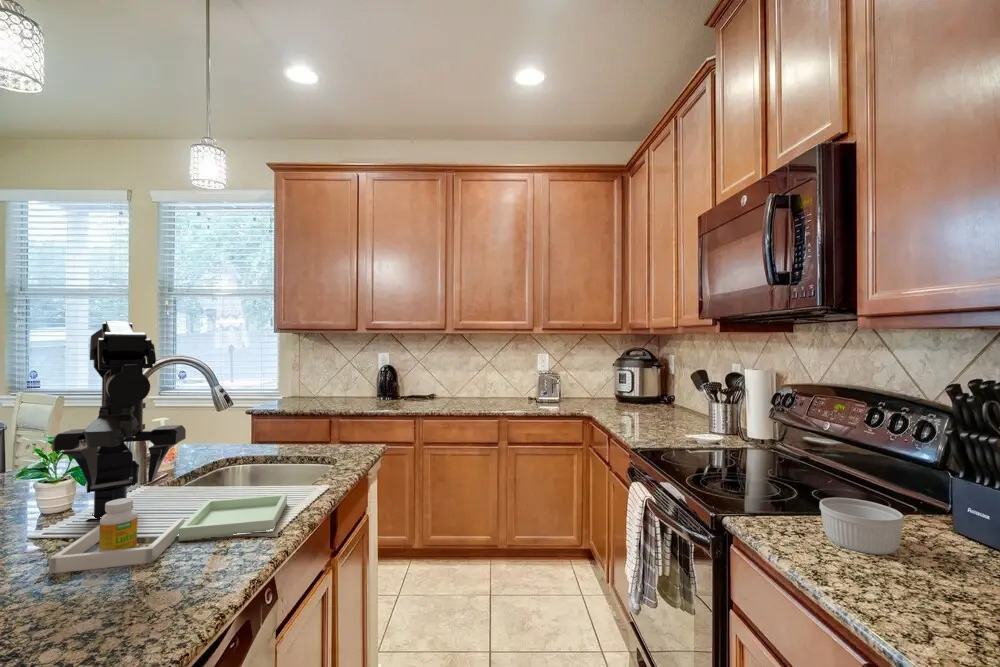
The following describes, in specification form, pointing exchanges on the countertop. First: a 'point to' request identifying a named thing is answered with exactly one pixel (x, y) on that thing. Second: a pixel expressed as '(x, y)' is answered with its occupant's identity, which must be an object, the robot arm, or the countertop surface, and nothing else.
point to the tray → (233, 517)
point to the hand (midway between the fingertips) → (122, 483)
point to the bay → (109, 552)
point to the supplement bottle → (118, 526)
